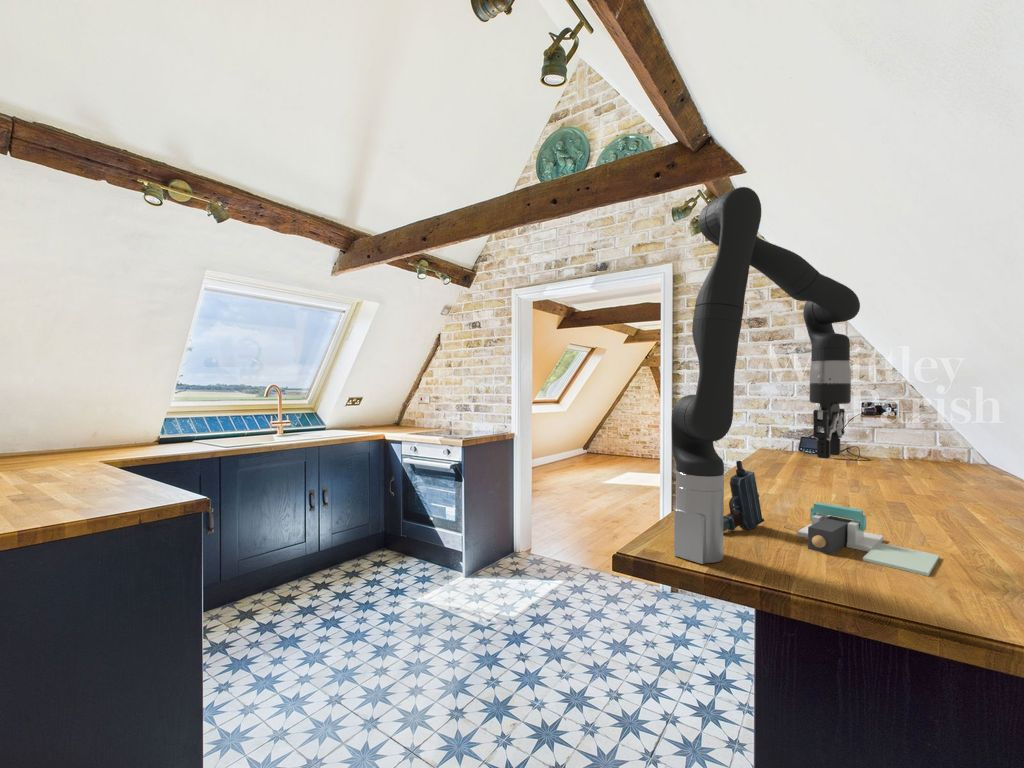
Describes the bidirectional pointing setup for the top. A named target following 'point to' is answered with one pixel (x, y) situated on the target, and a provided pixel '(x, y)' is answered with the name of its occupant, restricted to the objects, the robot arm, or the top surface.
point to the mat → (902, 558)
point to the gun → (743, 501)
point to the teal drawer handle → (840, 512)
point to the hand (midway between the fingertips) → (829, 456)
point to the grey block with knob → (828, 535)
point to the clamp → (849, 534)
